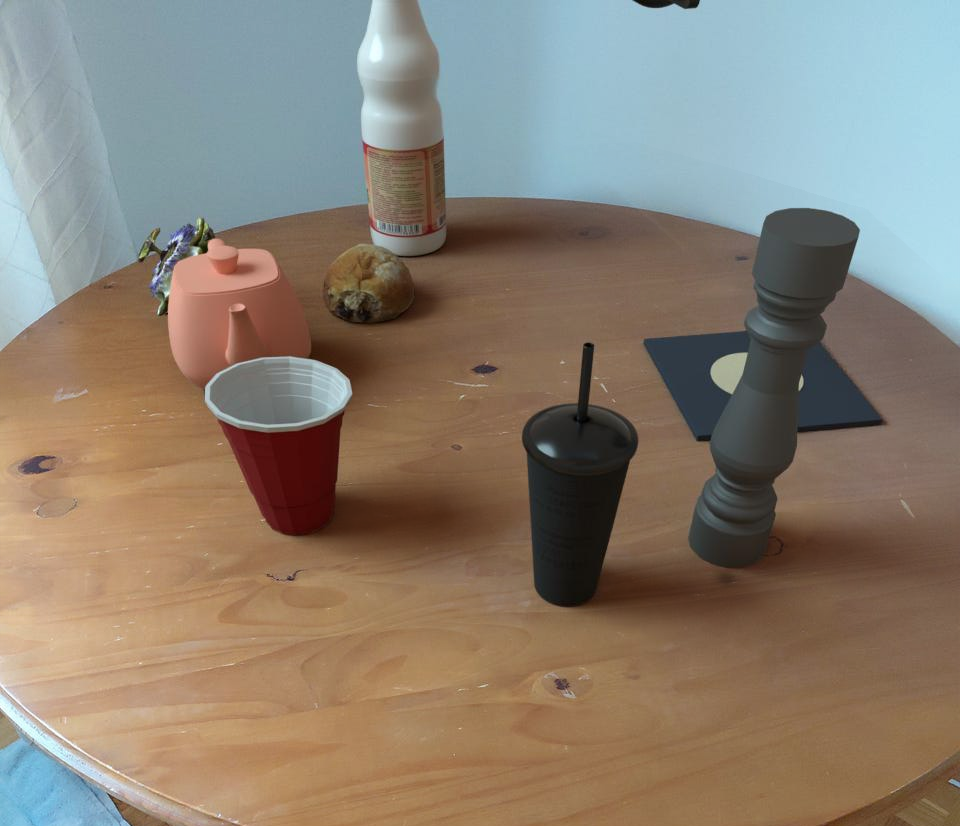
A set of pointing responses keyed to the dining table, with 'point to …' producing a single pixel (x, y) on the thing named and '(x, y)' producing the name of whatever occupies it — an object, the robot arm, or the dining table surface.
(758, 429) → the candle holder
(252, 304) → the teapot
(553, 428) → the drinking cup
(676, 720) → the dining table surface
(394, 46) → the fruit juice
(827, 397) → the placemat
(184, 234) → the passion flower
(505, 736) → the dining table surface
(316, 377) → the plastic cup
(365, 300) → the bread roll
